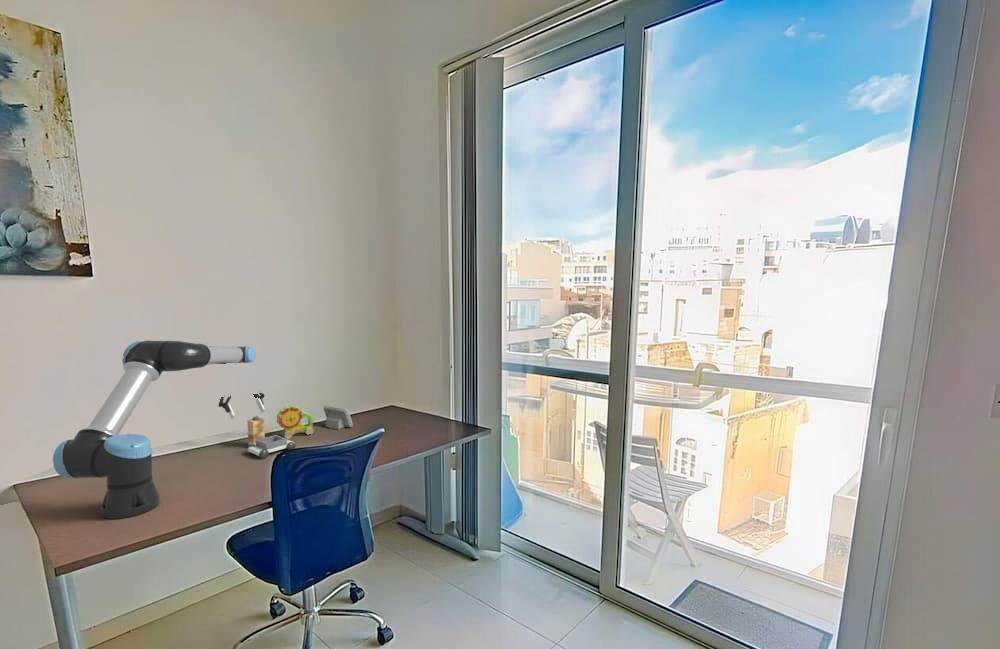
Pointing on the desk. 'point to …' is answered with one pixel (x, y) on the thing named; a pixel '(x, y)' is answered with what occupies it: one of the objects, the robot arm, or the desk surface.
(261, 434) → the tall wooden block
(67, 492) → the desk surface
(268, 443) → the chassis
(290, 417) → the toy lion
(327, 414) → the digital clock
